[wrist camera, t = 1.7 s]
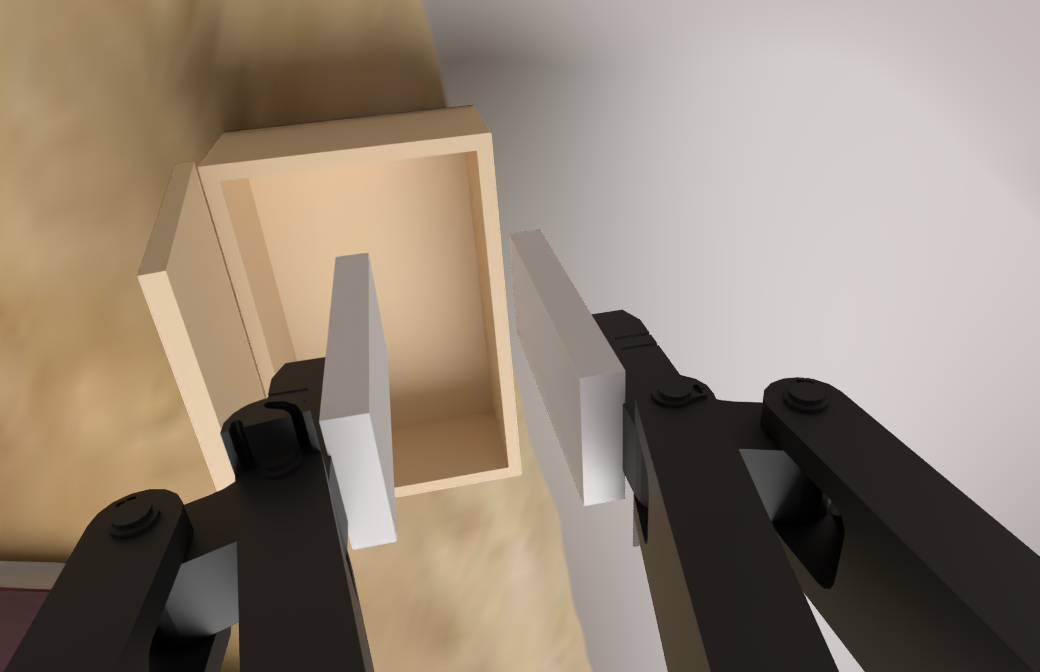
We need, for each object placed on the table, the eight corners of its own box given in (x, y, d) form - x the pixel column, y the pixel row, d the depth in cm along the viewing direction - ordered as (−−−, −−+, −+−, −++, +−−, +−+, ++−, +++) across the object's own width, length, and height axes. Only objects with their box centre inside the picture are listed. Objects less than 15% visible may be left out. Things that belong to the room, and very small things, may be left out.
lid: (193, 161, 33) (173, 164, 32) (165, 270, 21) (133, 276, 21) (303, 525, 44) (288, 529, 44) (322, 721, 33) (302, 728, 32)
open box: (223, 132, 39) (197, 166, 33) (474, 104, 41) (493, 132, 35) (309, 446, 50) (301, 514, 44) (505, 413, 52) (523, 474, 46)
